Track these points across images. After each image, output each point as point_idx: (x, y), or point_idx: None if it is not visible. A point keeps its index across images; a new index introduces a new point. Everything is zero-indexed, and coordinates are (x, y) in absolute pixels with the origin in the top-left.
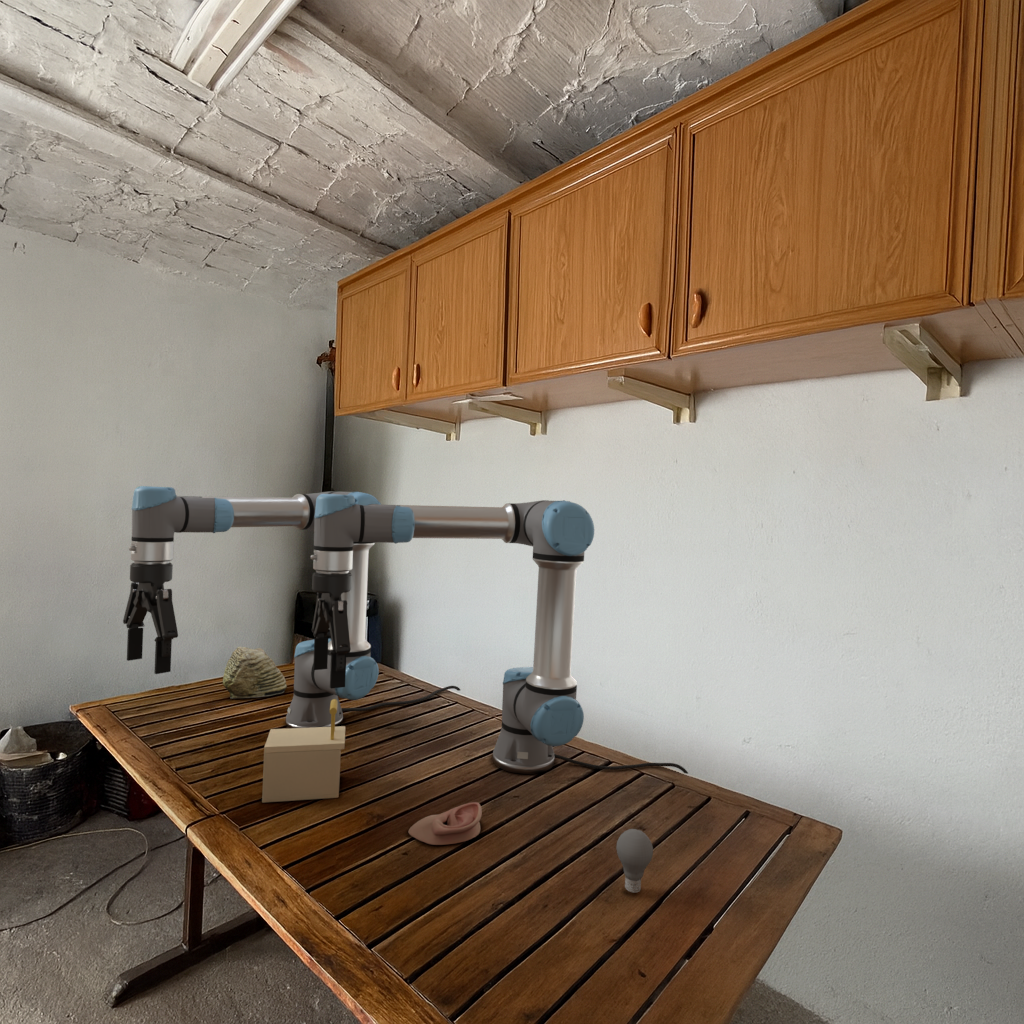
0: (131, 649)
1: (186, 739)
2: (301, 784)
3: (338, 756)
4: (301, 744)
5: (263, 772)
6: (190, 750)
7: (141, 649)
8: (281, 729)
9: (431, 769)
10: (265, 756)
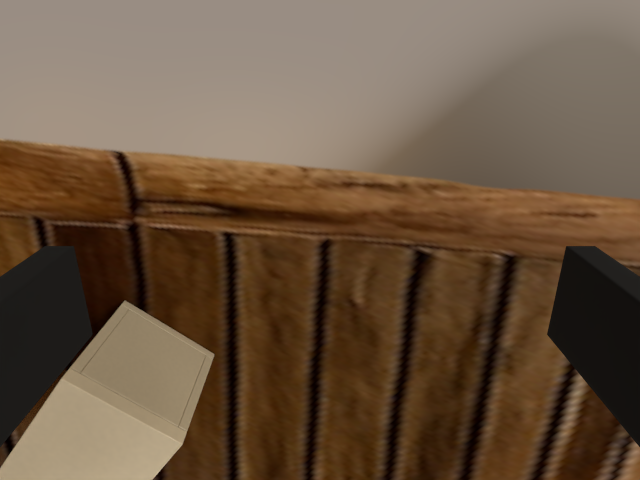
0: (612, 309)
1: None
2: None
3: None
4: (23, 442)
5: (94, 337)
6: (503, 318)
7: (585, 373)
8: (161, 459)
9: None
10: (73, 364)
